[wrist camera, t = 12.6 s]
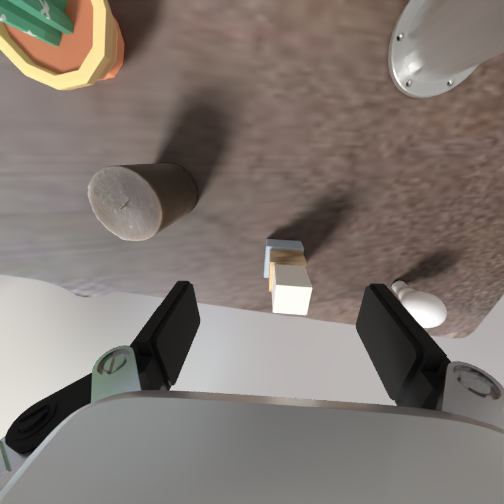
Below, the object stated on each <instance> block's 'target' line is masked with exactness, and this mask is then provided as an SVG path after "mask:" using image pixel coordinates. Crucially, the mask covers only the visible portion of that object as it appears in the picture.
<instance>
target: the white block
mask: <svg viewBox="0 0 504 504" xmlns="http://www.w3.org/2000/svg"><path fill="white" fill-rule="evenodd" d="M311 292H312V285H311V282H310V280H309V277H308V274H307V272H306V269H305V266H296V265H281V264H274V272H273V281H272V304H273V313H286V314H299V315H307V310H308V305H309V301H310V296H311Z"/></svg>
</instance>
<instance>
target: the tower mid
mask: <svg viewBox="0 0 504 504" xmlns="http://www.w3.org/2000/svg"><path fill="white" fill-rule="evenodd" d="M274 264H281V265H296V266H305V269H306V265H307V262H306V260H305V257H304V255H303V252H302V250H274V249H270V252H269V291H271V292H272V281H273V272H274Z"/></svg>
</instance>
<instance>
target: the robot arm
mask: <svg viewBox="0 0 504 504" xmlns="http://www.w3.org/2000/svg"><path fill="white" fill-rule="evenodd" d="M397 39H398V41H397ZM503 53H504V0H409V1H408V3H407V4H406V5H405V7H404V9H403V10H402V12H401V14H400V16H399V18H398V20H397V22H396V24H395V27H394V29H393V32H392V36H391V40H390V43H389V51H388V67H389V71H390V76H391V78H392V80H393V82H394V84H395V85H396V87H397V88H398V89H399V90H400V91H401V92H402V93H404V94H405V95H407V96H410V97H413V98H429V97H433V96H436V95H439V94H441V93H444V92H446V91H449V90H450V89H452V88H454V87H455V86H457V85H458V84H460V83H461V82H462V81H463V80H464V79H466V78H467V77H468V76H469V75H470V74H471V73H472V72H473V71H474V70H475V69H476V68H477V66H478V65H479V64H480V63H483V62H485V61H487V60H490V59H492V58H494V57H496V56H499V55H501V54H503ZM406 84H407V86H406ZM199 325H200V316H199V311H198V307H197V302H196V297H195V293H194V288H193V284H190V282H189V281H178V282H177V283H176V284H175V285H174V287H173V288H172V290H171V291H170V292H169V294H168V295H167V296H166V298H165V299H164V300H163V302H162V303H161V305H160V306H159V307H158V308H157V309H156V311H155V312H154V313H153V315H152V316H151V318H150V319H149V320H148V322H147V323H146V325H145V326H144V327H143V328H142V330H141V331H140V333H139V334H138V335H137V337H136V338H135V339H134V341H133V342H132V344H131V345H130V346H119V347H116V348H113V349H111V350H109V351H108V352H106V353H105V354H104V355H102V356H101V357H100V358H99V359H98V360H97V362H96V363H95V365H94V367H93V371H92V373H90V374H89V375H87V376H85V377H83V378H81V379H80V380H77V381H76V382H74V383H72V384H70V385H68V386H66V387H65V388H63V389H61V390H59V391H57V392H55V393H54V394H52V395H50V396H48V397H46V398H44V399H42V400H41V401H39V402H37V403H36V404H34V405H33V406H31V407H29V408H28V409H27V410H26V411H24V412H23V413H22V414H21V415H20V416H19V417H18V418H17V419H16V420H15V421H14V422H13V424H12V425H11V427H10V428H9V429H8V432H7V434H6V436H5V437H3V438H2V439H1V440H0V504H504V388H503V387H502V385H501V384H500V383H499V382H498V381H497V380H496V379H495V378H493V377H492V376H491V375H489V374H488V373H486V372H485V371H483V370H481V369H479V368H478V367H476V366H473V365H471V364H468V363H464V362H460V361H457V362H451V361H450V360H449V359H448V358H447V357H446V356H447V355H446V354H445V353H444V352H443V350H442V349H441V348H440V347H439V346H438V345H437V344H436V342H435V341H434V340H433V339H432V338H431V337H430V336H429V334H428V333H427V332H426V331H425V330H424V329H423V328H422V326H421V325H420V324H419V323H418V322H417V321H416V320H415V318H414V317H413V316H412V315H411V314H410V313H409V312H408V310H407V309H406V308H405V307H404V306H403V305H402V304H401V302H400V301H399V300H398V299H397V298H396V297H395V296H394V294H393V293H392V292H391V291H390V290H389V289H388V288H387V286H386V285H384V284H370V285H369V286H367V287H366V289H365V293H364V296H363V300H362V304H361V307H360V311H359V315H358V319H357V322H356V329H357V332H358V334H359V336H360V338H361V340H362V342H363V344H364V346H365V348H366V350H367V352H368V354H369V356H370V358H371V360H372V362H373V365H374V367H375V369H376V371H377V372H378V375H379V377H380V379H381V381H382V383H383V385H384V387H385V389H386V391H387V393H388V395H389V397H390V398H391V399H392V400H395V402H396V404H397V406H390V405H380V404H365V403H352V402H339V401H326V400H312V399H297V398H283V397H268V396H254V395H238V394H237V395H236V394H222V393H206V392H189V391H169V390H170V388H171V385H174V384H175V383H176V381H177V378H178V376H179V373H180V371H181V369H182V366H183V364H184V361H185V359H186V356H187V354H188V352H189V349H190V347H191V344H192V342H193V340H194V337H195V335H196V332H197V330H198V327H199Z"/></svg>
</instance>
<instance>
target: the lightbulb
mask: <svg viewBox="0 0 504 504" xmlns="http://www.w3.org/2000/svg"><path fill="white" fill-rule="evenodd" d="M392 289H393V290H394V291H395V293H396V294H397V295H398V297H399V299H400V301H401V304H402V305H403V306H404V307H405V308H406V309H407V310H408V312H409V313H410V314H411V315H412V316H413V317H414V318H415V320H416V321H417V322H418V323H419V324H420V325H421V326H422V327H424V328H432V327H436V326H439V325H440V324H442V323H443V322H444V321H445V319H446V316H447V309H446V307H445V305H444V303H443V302H442V301H441V300H440V299H439V298H438V297H436V296H435V295H433V294H431V293H428V292H423V291H417V290H415V289H413V288H410V287H409V286H408V285H407V284H405V283H404V282H403V281H397V282H395V283H393V285H392Z"/></svg>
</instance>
